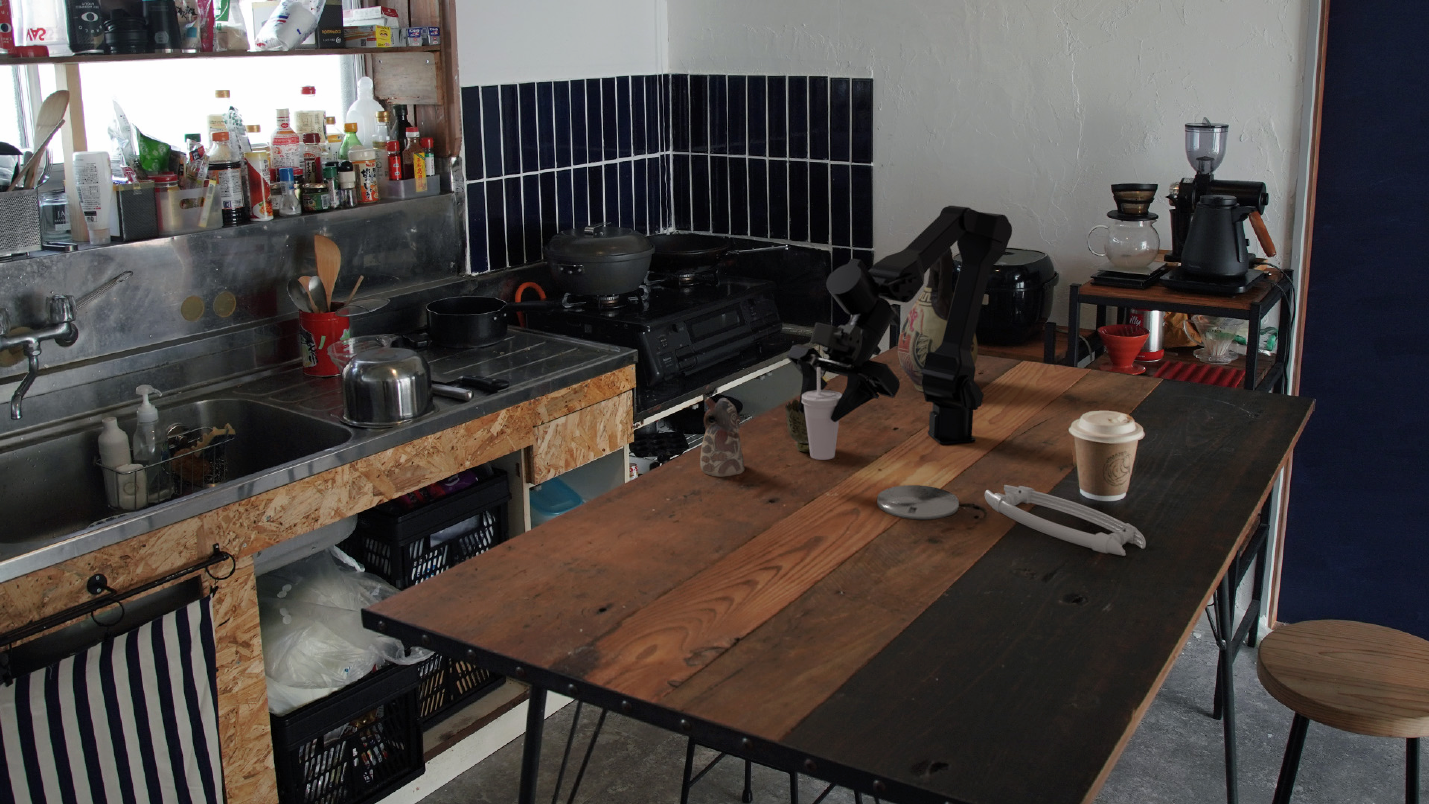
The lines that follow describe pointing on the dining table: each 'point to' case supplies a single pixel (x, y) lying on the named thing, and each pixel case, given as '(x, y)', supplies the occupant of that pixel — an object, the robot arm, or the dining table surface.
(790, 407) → the cup
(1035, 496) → the door handle
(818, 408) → the smoothie
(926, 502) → the pad
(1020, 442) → the dining table surface
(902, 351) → the ceramic jug
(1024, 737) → the dining table surface
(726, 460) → the figurine
